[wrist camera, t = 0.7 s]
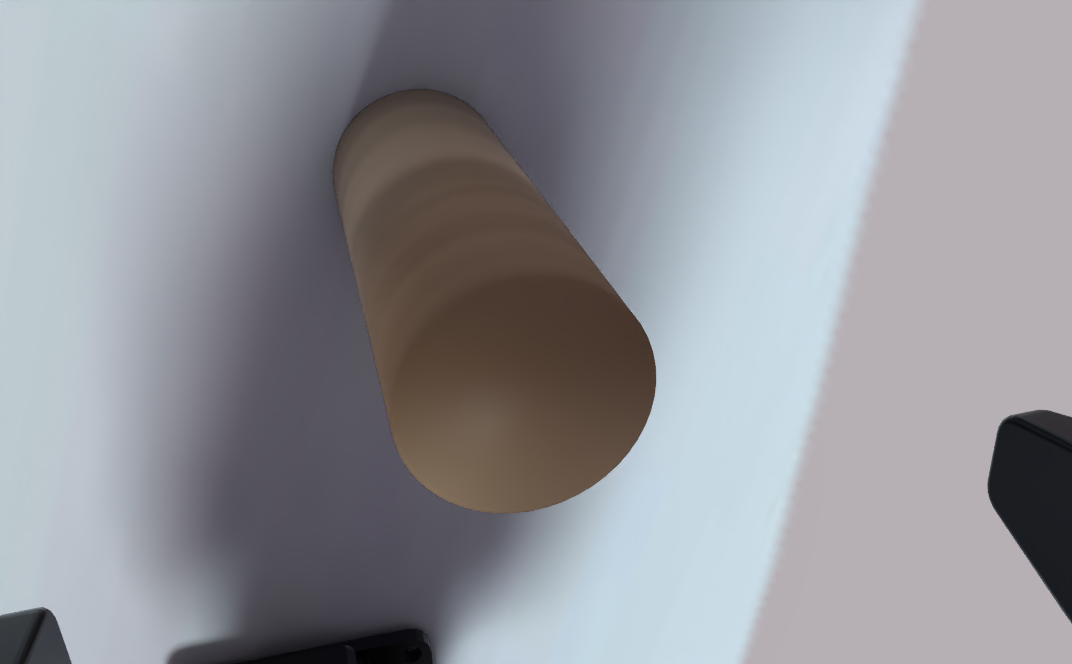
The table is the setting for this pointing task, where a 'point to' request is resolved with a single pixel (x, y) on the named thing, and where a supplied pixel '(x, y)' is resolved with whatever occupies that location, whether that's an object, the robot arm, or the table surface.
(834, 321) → the table surface
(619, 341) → the peg
